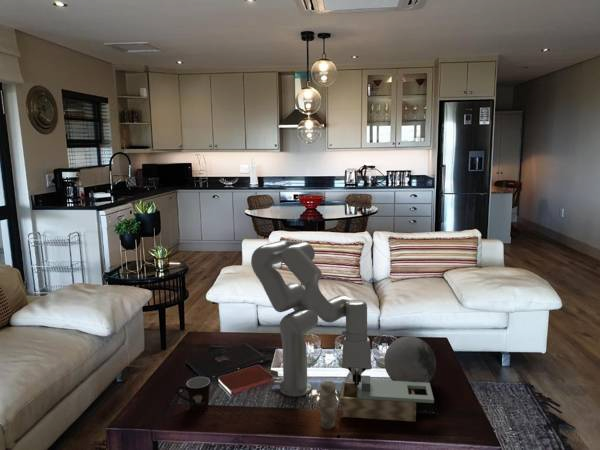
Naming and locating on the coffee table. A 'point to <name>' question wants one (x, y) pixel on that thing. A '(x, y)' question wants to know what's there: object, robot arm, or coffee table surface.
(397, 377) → the moon model
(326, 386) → the beige tall cylinder
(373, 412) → the wooden box
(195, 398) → the coffee mug
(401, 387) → the lid
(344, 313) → the robot arm
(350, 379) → the duck figurine
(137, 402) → the coffee table surface
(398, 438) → the coffee table surface
